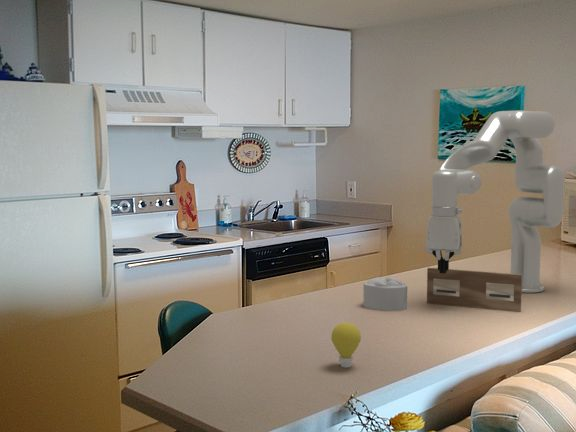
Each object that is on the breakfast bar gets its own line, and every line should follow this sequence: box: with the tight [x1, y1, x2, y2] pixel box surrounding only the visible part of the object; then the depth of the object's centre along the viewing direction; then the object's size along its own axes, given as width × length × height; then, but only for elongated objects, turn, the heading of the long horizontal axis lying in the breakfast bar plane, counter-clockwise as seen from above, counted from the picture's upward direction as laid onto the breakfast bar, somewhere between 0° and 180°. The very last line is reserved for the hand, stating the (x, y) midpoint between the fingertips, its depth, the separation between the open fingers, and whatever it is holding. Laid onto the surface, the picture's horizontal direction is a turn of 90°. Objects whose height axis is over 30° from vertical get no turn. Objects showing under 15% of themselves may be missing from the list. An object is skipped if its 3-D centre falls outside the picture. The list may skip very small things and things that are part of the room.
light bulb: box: [330, 321, 362, 368], centre depth 157 cm, size 7×7×10 cm
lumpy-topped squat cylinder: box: [363, 276, 408, 312], centre depth 213 cm, size 10×13×9 cm
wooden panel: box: [426, 267, 522, 313], centre depth 212 cm, size 2×28×11 cm, turn 66°
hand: (443, 272), depth 209 cm, fingers closed
